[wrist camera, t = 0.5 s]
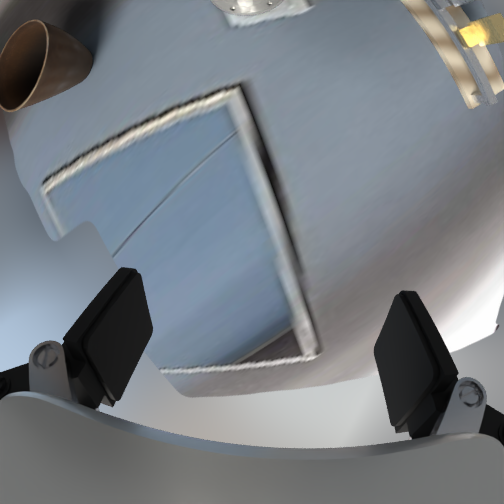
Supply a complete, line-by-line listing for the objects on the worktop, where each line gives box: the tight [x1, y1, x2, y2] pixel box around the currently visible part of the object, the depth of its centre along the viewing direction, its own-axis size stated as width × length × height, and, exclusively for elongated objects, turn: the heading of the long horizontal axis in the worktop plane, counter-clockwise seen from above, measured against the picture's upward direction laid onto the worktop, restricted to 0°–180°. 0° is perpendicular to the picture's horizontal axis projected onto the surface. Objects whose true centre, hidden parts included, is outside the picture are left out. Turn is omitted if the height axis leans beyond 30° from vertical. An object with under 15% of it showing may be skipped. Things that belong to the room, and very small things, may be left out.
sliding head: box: [456, 13, 504, 48], centre depth 19 cm, size 4×7×12 cm, turn 128°
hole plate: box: [400, 0, 504, 109], centre depth 25 cm, size 24×12×2 cm, turn 38°
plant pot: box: [0, 20, 93, 112], centre depth 28 cm, size 15×15×16 cm
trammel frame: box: [424, 0, 498, 106], centre depth 20 cm, size 23×7×12 cm, turn 38°
